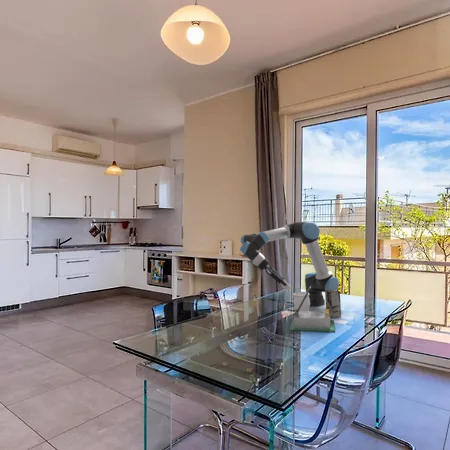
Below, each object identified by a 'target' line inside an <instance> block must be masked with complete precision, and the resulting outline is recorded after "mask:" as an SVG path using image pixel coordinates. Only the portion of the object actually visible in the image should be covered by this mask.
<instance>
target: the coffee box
mask: <svg viewBox="0 0 450 450" xmlns="http://www.w3.org/2000/svg"><path fill="white" fill-rule="evenodd" d="M324 300H325V309H329V314H330V318H338V317H340V318H341V317H342V309H341V308H342V307H341V292H340V290H338V289H337V290H334V289H330V290H325V292H324Z"/></svg>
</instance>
